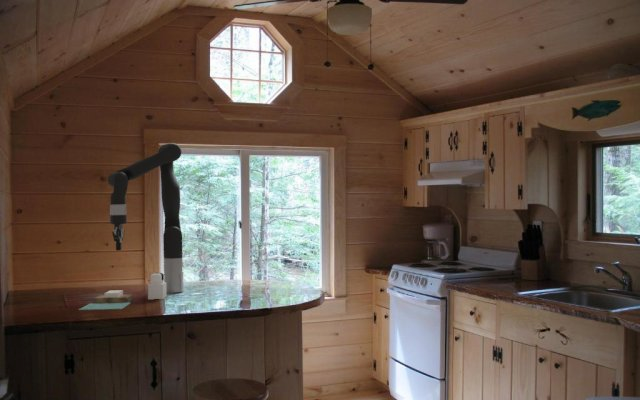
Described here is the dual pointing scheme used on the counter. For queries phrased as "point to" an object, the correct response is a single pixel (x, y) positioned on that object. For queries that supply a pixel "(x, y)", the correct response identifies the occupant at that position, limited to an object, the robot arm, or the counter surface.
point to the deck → (114, 299)
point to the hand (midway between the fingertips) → (118, 250)
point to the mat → (104, 306)
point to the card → (113, 293)
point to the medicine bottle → (157, 287)
